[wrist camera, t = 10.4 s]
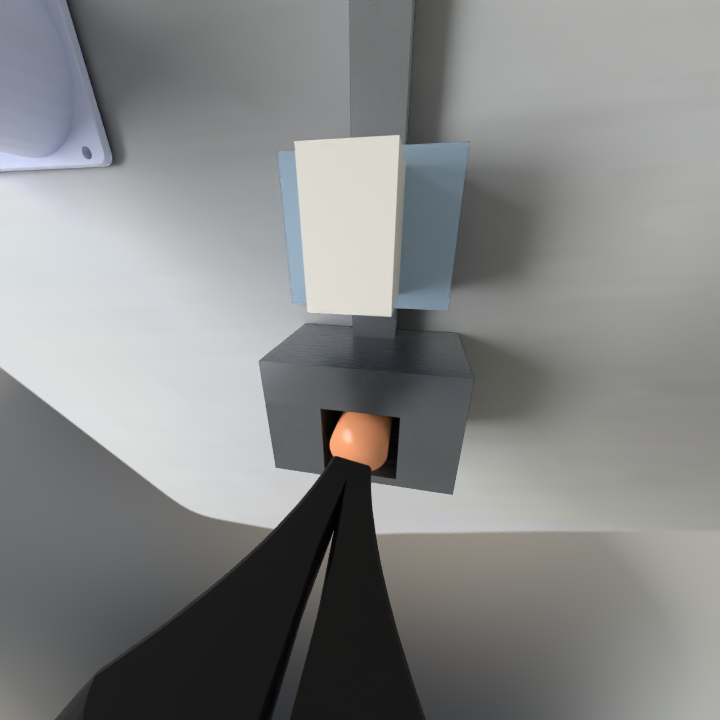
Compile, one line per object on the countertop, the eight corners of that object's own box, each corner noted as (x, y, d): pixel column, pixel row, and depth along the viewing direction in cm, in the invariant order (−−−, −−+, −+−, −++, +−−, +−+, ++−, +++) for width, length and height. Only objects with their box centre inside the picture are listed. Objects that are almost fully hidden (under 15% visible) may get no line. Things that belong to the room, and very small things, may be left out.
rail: (358, 335, 15) (353, 346, 14) (357, -317, 8) (344, -433, 6) (396, 338, 15) (393, 348, 14) (434, -342, 7) (437, -471, 6)
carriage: (318, 288, 14) (252, 325, 9) (311, 170, 12) (219, 119, 7) (442, 293, 13) (457, 338, 8) (456, 164, 11) (493, 97, 6)
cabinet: (311, 408, 18) (275, 467, 13) (305, 323, 16) (258, 361, 11) (445, 423, 16) (455, 495, 12) (459, 332, 14) (477, 379, 10)
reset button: (351, 414, 16) (330, 467, 12) (350, 376, 15) (328, 422, 11) (394, 419, 15) (386, 475, 12) (396, 380, 14) (388, 429, 11)
